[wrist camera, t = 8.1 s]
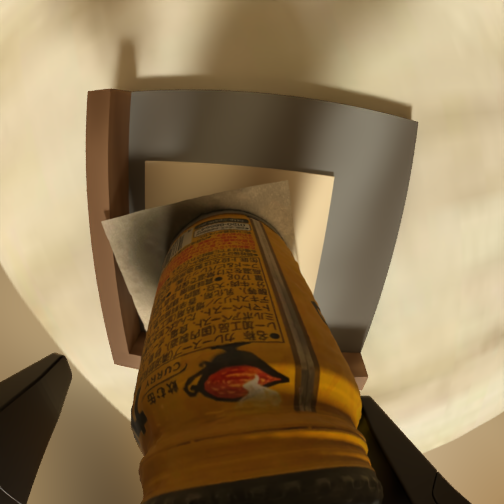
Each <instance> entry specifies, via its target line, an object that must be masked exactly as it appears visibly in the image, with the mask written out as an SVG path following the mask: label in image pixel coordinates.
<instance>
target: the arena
mask: <svg viewBox="0 0 504 504" xmlns="http://www.w3.org/2000/svg"><path fill="white" fill-rule="evenodd" d="M417 128H418V122H416V121H413V120H409V119H406V118H402V117H398V116H394V115H390V114H386V113H382V112H378V111H373V110H369V109H364V108H360V107H355V106H350V105H345V104H339V103H334V102H328V101H322V100H315V99H309V98H301V97H294V96H286V95H277V94H266V93H255V92H241V91H221V90H156V91H137V92H129V91H123V90H116V89H103V90H95V91H88V97H87V116H86V180H87V199H88V213H89V224H90V234H91V243H92V251H93V259H94V266H95V273H96V279H97V285H98V291H99V297H100V302H101V307H102V312H103V317H104V322H105V327H106V331H107V335H108V340H109V344H110V348H111V352H112V356H113V360H114V364H117V365H121V366H125V367H130V368H135V369H139V367H140V362H141V356H142V352H143V347H144V343H145V338H146V329H145V327H144V324H143V322H142V320H141V318H140V316H139V314H138V312H137V309H136V307H135V304H134V302H133V298H132V295H131V294H130V292H129V290H128V288H127V285H126V282H125V280H124V277H123V275H122V272H121V270H120V268H119V266H118V263H117V261H116V258H115V255H114V253H113V250H112V248H111V245H110V242H109V240H108V238H107V236H106V233H105V231H104V228H103V225H102V223H101V221H105V220H109V219H112V218H117V217H121V216H124V215H128V214H131V213H134V212H138V211H141V210H146V209H150V208H155V207H159V206H163V205H169V204H173V203H177V202H181V201H184V200H188V199H193V198H197V197H201V196H205V195H211V194H215V193H219V192H224V191H229V190H237V189H240V188H245V187H250V186H256V185H262V184H268V183H274V182H280V181H286V180H288V183H289V190H290V198H291V207H292V216H293V227H294V236H295V245H296V255H297V262H298V264H299V268H300V271H301V274H302V276H303V277H304V278H305V280H306V283H307V284H308V286H309V288H310V290H311V291H312V294H313V296H314V299H315V301H316V302H317V303H318V306H319V308H320V311H321V314H322V315H323V317H324V319H325V322H326V323H327V325H328V327H329V329H330V331H331V334H332V335H333V337H334V339H335V341H336V342H337V345H338V346H339V348H340V351H341V353H342V355H343V356H344V358H345V360H346V362H347V363H348V365H349V367H350V370H351V372H352V374H353V376H354V378H355V381H356V383H357V385H358V388H359V390H362V389H363V387H364V385H365V383H366V381H367V378H368V375H367V371H366V368H365V365H364V362H363V359H362V356H361V350H362V347H363V345H364V342H365V339H366V337H367V334H368V331H369V328H370V326H371V323H372V320H373V317H374V314H375V311H376V308H377V305H378V302H379V299H380V296H381V292H382V289H383V286H384V283H385V279H386V276H387V273H388V269H389V266H390V262H391V258H392V255H393V251H394V247H395V243H396V239H397V235H398V231H399V227H400V223H401V219H402V214H403V210H404V205H405V200H406V195H407V190H408V185H409V180H410V174H411V169H412V163H413V156H414V150H415V143H416V136H417Z"/></svg>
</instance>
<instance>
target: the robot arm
mask: <svg viewBox="0 0 504 504" xmlns="http://www.w3.org/2000/svg"><path fill="white" fill-rule="evenodd" d="M71 380H72V373H71V369H70V367H69V364H68V361H67V359H66V357H65V356H64V355H61V354H58V353H52V354H50V355H49V356H47V357H45V358H43V359H41V360H40V361H38V362H36V363H34V364H32V365H31V366H29V367H27V368H25V369H23V370H21V371H20V372H18V373H16V374H14V375H12V376H11V377H9V378H7V379H6V380H3V381H2V382H0V504H27V501H28V497H29V494H30V491H31V488H32V485H33V483H34V480H35V477H36V474H37V471H38V469H39V466H40V463H41V461H42V458H43V455H44V453H45V450H46V447H47V445H48V442H49V440H50V438H51V435H52V433H53V431H54V428H55V426H56V423H57V421H58V419H59V416H60V413H61V410H62V407H63V404H64V401H65V397H66V395H67V392H68V389H69V386H70V383H71ZM360 397H361V401H362V410H361V413H362V415H361V418H360V420H359V424H358V427H357V430H359V431H360V432H361V433H362V434H363V436H364V437H365V439H366V443H367V446H368V453H367V456H368V458H369V460H370V463H371V467H372V468H373V469H374V470H375V473H376V477H377V479H378V480H379V481H380V482H381V485H382V487H383V495H384V496H383V500H382V504H471V503H470V502H469V501H468V500H467V499H465V498H464V497H463V496H462V495H461V494H460V493H459V492H458V491H457V490H455V489H454V488H453V487H452V486H451V485H450V483H449V482H447V480H445V478H444V477H443V476H442V475H441V474H440V473H439V472H437V470H436V469H435V467H434V466H433V465H432V464H431V463H430V462H429V461H428V460H427V459H426V458H425V456H424V455H423V454H422V453H421V452H420V451H419V450H418V449H417V448H416V447H415V445H414V444H413V443H412V442H411V441H410V440H409V439H408V438H407V437H406V435H405V434H404V433H403V432H402V431H401V430H400V429H399V428H398V427H397V425H396V424H395V423H394V422H393V421H392V420H391V419H390V418H389V417H388V415H387V414H386V413H385V412H384V411H383V410H382V409H381V408H380V407H379V405H378V404H377V403H376V402H375V401H374V400H373V399H372V398H371V397H370V396H360Z"/></svg>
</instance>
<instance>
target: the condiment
mask: <svg viewBox="0 0 504 504" xmlns="http://www.w3.org/2000/svg"><path fill="white" fill-rule="evenodd" d="M101 223H102V225H103V228H104V231H105V233H106V236H107V238H108V240H109V242H110V245H111V248H112V250H113V253H114V255H115V258H116V261H117V263H118V266H119V268H120V270H121V272H122V275H123V277H124V280H125V282H126V285H127V288H128V290H129V292H130V294H131V295H132V298H133V302H134V304H135V307H136V309H137V312H138V314H139V316H140V318H141V320H142V322H143V324H144V327H145V329H146V338H145V343H144V347H143V352H142V356H141V362H140V367H139V372H138V376H137V383H136V388H135V392H134V400H133V405H132V408H131V428H132V431H133V434H134V438H135V440H136V442H137V445H138V447H139V448H140V450H141V452H142V454H143V455H144V457H143V458H142V460H141V462H140V467H139V475H140V481H141V483H142V488H143V494H144V496H143V500H142V502H141V504H382V500H383V496H384V495H383V487H382V485H381V482H380V481H379V480H378V479H377V477H376V473H375V470H374V469H373V468H372V467H371V463H370V460H369V458H368V456H367V453H368V446H367V443H366V439H365V437H364V436H363V434H362V433H361V432H360V431H359V430H357V427H358V424H359V420H360V418H361V415H362V413H361V410H362V401H361V397H360V391H359V388H358V385H357V383H356V381H355V378H354V376H353V374H352V372H351V370H350V367H349V365H348V363H347V362H346V360H345V358H344V356H343V355H342V353H341V351H340V348H339V346H338V345H337V342H336V341H335V339H334V337H333V335H332V334H331V331H330V329H329V327H328V325H327V323H326V322H325V319H324V317H323V315H322V314H321V311H320V308H319V306H318V303H317V302H316V301H315V299H314V296H313V294H312V291H311V290H310V288H309V286H308V284H307V283H306V280H305V278H304V277H303V276H302V274H301V271H300V268H299V264H298V262H297V255H296V245H295V236H294V227H293V216H292V207H291V198H290V190H289V183H288V180H286V181H280V182H274V183H268V184H262V185H256V186H250V187H245V188H240V189H237V190H229V191H224V192H219V193H215V194H211V195H205V196H201V197H197V198H193V199H188V200H184V201H181V202H177V203H173V204H169V205H163V206H159V207H155V208H150V209H146V210H141V211H138V212H134V213H131V214H128V215H124V216H121V217H117V218H112V219H109V220H105V221H101Z"/></svg>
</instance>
